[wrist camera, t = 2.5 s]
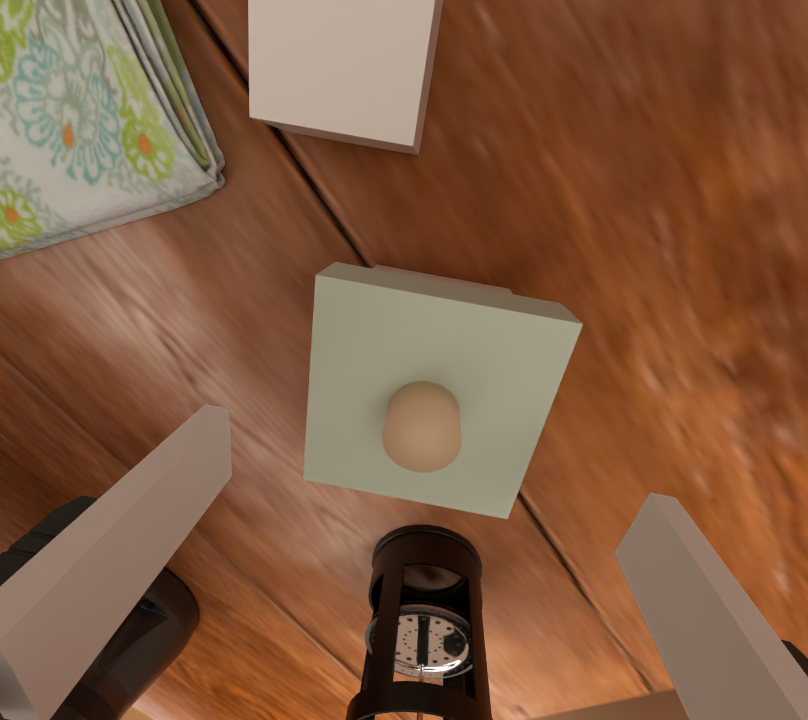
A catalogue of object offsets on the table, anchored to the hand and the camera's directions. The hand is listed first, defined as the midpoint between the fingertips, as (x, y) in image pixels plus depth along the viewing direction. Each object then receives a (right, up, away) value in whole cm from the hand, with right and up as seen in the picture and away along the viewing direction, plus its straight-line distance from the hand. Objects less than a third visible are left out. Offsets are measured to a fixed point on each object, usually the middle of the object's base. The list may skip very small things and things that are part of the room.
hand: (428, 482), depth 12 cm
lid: (0, +3, +7) cm, 7 cm away
